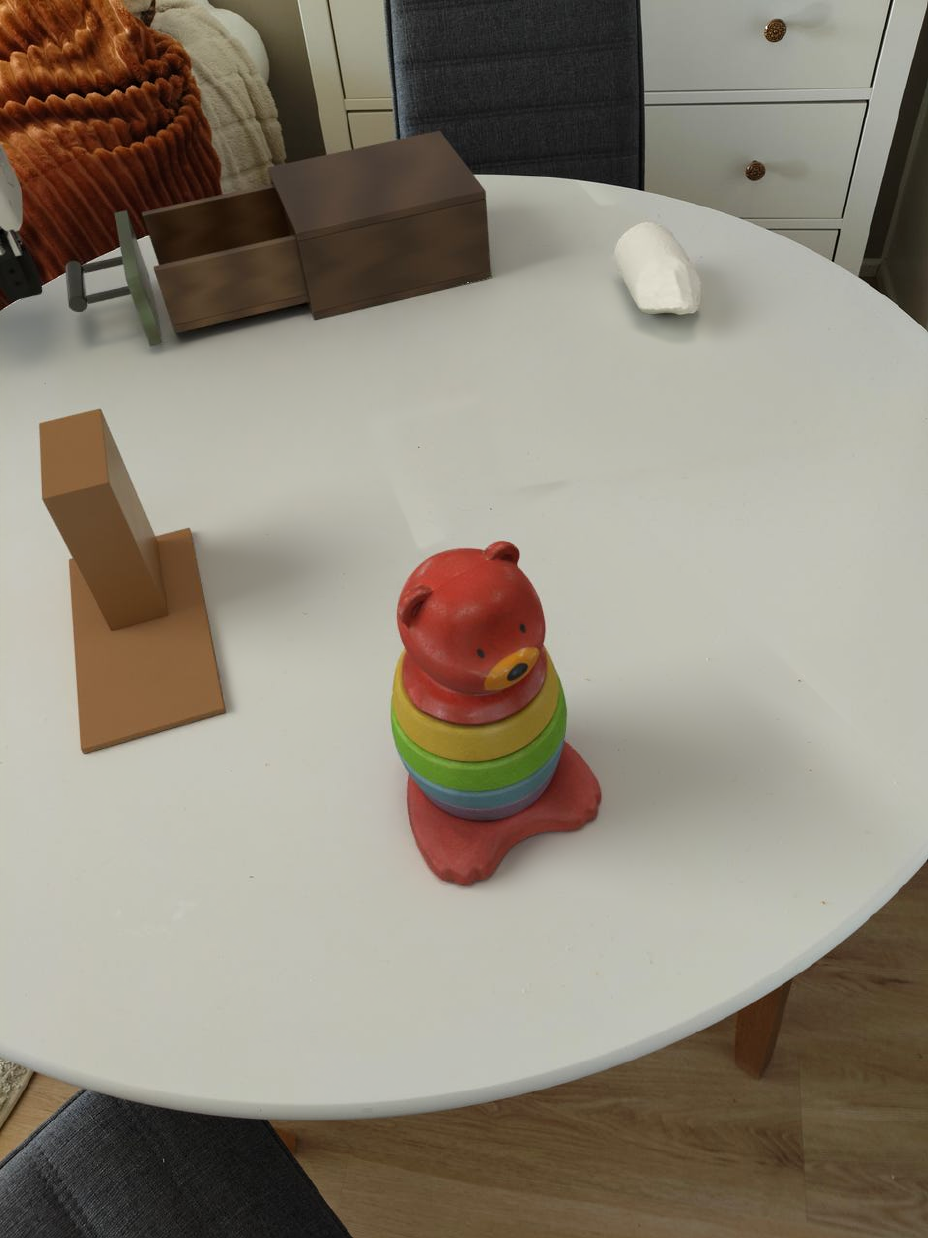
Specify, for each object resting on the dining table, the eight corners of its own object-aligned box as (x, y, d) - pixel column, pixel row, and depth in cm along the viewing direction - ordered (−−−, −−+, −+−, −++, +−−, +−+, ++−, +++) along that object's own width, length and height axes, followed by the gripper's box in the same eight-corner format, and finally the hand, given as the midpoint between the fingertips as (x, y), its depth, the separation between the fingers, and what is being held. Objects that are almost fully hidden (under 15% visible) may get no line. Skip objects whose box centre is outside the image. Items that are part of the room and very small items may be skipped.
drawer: (86, 361, 90) (57, 293, 85) (79, 291, 99) (52, 225, 94) (324, 305, 93) (310, 236, 88) (297, 241, 102) (283, 175, 97)
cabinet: (314, 320, 93) (295, 232, 87) (285, 250, 103) (267, 166, 96) (491, 277, 96) (486, 190, 90) (447, 213, 105) (439, 130, 99)
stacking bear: (447, 901, 53) (406, 700, 40) (369, 765, 59) (312, 552, 46) (616, 811, 56) (630, 595, 43) (525, 690, 62) (513, 469, 49)
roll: (645, 350, 86) (650, 291, 82) (611, 280, 94) (613, 223, 90) (713, 340, 86) (721, 280, 82) (673, 271, 94) (678, 214, 90)
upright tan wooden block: (103, 555, 73) (38, 422, 64) (157, 540, 74) (100, 407, 65) (110, 631, 68) (41, 498, 59) (169, 615, 68) (109, 481, 59)
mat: (71, 563, 73) (68, 559, 73) (191, 531, 75) (189, 527, 74) (83, 754, 62) (80, 749, 61) (226, 712, 63) (224, 707, 63)
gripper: (-27, 102, 73) (70, 324, 86) (-22, 39, 82) (64, 247, 96) (-132, 124, 72) (-18, 345, 85) (-115, 58, 81) (-15, 265, 95)
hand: (25, 292), depth 91 cm, fingers closed
